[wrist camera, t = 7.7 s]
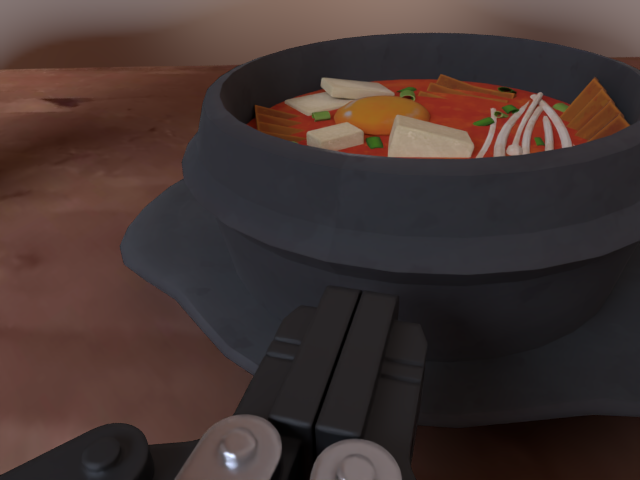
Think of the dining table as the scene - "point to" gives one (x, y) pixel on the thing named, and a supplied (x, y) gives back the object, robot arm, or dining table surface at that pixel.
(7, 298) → the dining table surface
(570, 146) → the casserole
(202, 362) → the dining table surface
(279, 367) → the robot arm
